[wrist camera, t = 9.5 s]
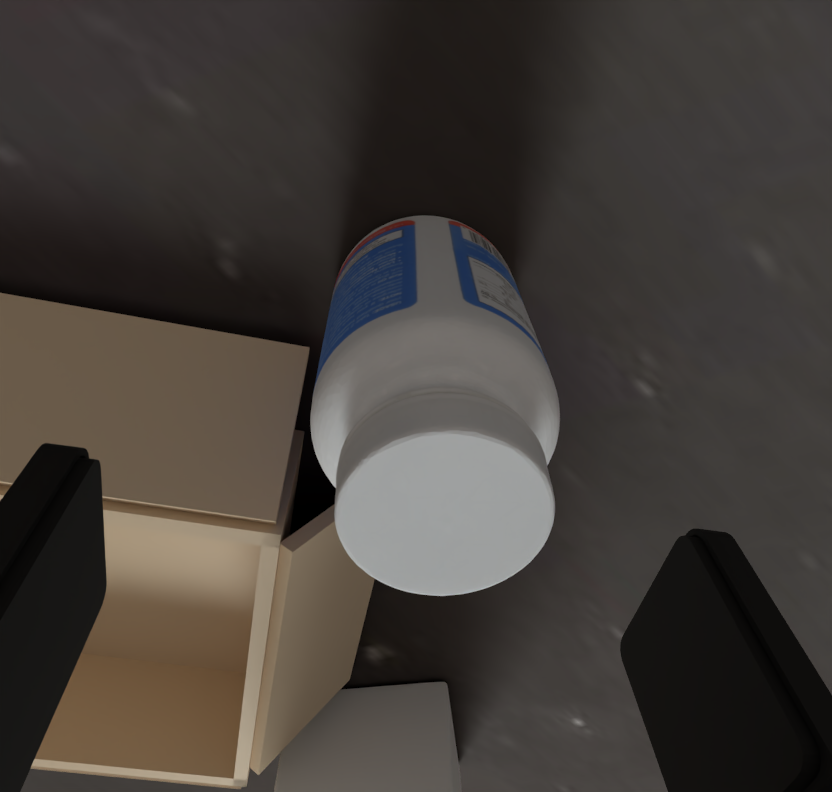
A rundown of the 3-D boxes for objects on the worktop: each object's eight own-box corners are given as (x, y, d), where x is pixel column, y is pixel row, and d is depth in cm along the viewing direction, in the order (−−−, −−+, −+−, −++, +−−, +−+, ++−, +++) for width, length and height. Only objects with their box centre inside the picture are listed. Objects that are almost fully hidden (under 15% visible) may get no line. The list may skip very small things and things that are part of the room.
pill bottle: (338, 376, 22) (295, 622, 13) (330, 209, 19) (268, 390, 10) (507, 378, 22) (570, 623, 13) (525, 212, 19) (616, 394, 11)
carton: (426, 360, 21) (431, 455, 17) (337, 725, 32) (326, 841, 27) (-282, 234, 19) (-482, 308, 15) (-130, 673, 29) (-222, 791, 25)
